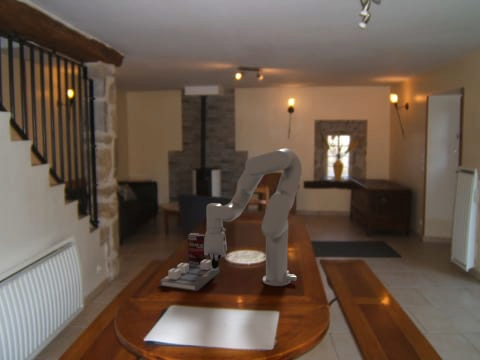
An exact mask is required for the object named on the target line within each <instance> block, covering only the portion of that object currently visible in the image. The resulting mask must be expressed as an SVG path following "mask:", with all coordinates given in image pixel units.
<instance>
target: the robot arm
mask: <svg viewBox="0 0 480 360" xmlns="http://www.w3.org/2000/svg"><path fill="white" fill-rule="evenodd" d="M302 167H303V166H302V163H301V160H300V158H299V156H298V155H297V154H296V152H294V151H293V150H291V149H289V148H286V147H285V148H280V149H277V150H273V151H270V152H267V153H263V154H257V155H254V156H251V157H249V158H248V159H247V160H246V162H245V164H244V170H243V173H242V174H241V175H240V177H239V179H238V180H237V184H236V186H237V188H236V191H235V194H234V195H233V197H232V199H231V200H230V202H229V203H227V204H224V205H222V204H221V203H219V202H218V203H217V202H211V203H208V204H207V205H206V210H205V211H206V232H205V233H204V234H205V239H204V254H205V255H207V256H208V258H209V260H212V269H216V268H217V267H220V262H219V261H220V259H221V258H225V257H226V256H227V253H226V252H227V250H228V249H227V248H228V247H227V238H226V233H225V232H226V231H227V230H226V228H224V223H223V222H227V223H229V222H232V221H235V220H236V219H237V218H239V217H240V216H241V215H242V213H243V212H244V210H245V208H246V207H247V205H248V203H249V202H250V200H251V198H252V196H253V194H254V192H255V190H256V189H257V188H258V185H259V184H260V182H261V181H262V179H263V177H264V176H265V175H268V174H272V173H276V172H280V171H282V172H281V175H280V178H279V182H278V185H277V187H276V191H274V192H275V193H273V194H272V195H271V196H270V198H269V199H268V202H267V204H266V208H265V213H264V215H263V219H262V222H261V232H262V234H263V235H264V236H265V275H264V276H263V277H262V282H263V283H264V284H265V285H268V286H272V287H284V286H286V285H289V284H290V283H291V281H294V282H295V281H297V279H298V278H297V276H296V275H295V274H290V270H288V240H289V239H288V236H289V220H288V217H289V213H290V211H291V209H292V208H293V206H294V203H295V199H296V195H297V192H298V188H299V184H300V181H301V178H302V177H301V176H302Z"/></svg>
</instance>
